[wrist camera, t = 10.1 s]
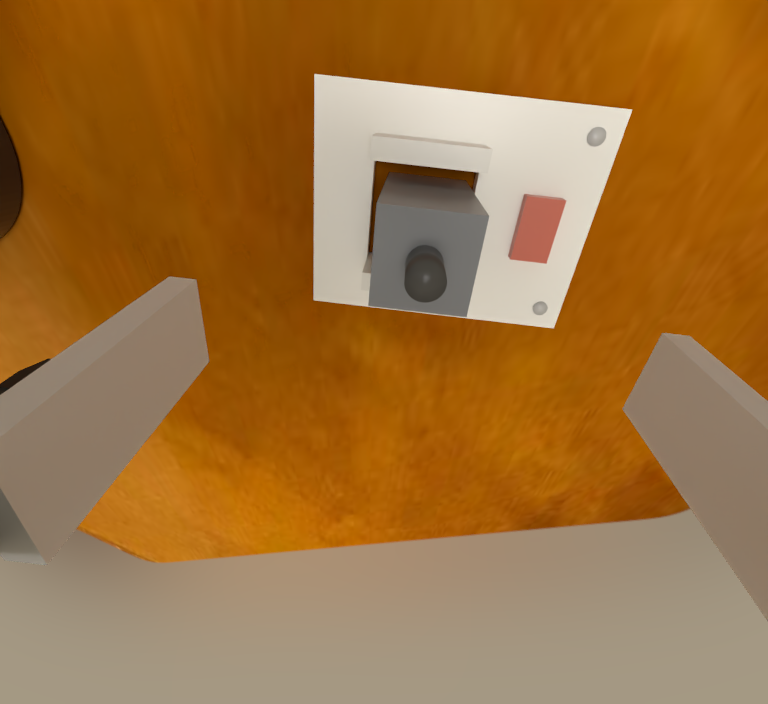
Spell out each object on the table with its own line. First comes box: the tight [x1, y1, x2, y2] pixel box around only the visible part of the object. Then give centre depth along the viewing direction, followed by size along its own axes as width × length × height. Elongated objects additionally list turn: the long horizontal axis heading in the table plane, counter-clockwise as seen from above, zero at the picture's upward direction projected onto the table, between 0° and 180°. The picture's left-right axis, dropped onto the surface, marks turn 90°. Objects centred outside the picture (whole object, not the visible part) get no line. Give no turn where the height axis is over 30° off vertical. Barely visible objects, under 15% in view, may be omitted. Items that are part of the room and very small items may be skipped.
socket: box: [313, 74, 632, 328], centre depth 26 cm, size 18×14×4 cm
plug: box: [368, 172, 489, 317], centre depth 22 cm, size 5×5×12 cm
